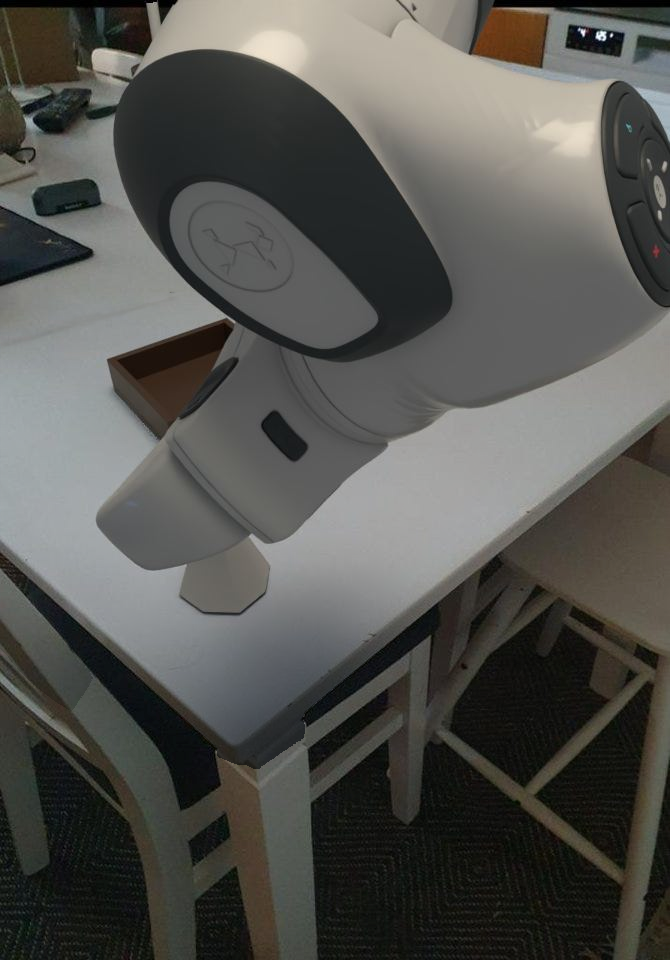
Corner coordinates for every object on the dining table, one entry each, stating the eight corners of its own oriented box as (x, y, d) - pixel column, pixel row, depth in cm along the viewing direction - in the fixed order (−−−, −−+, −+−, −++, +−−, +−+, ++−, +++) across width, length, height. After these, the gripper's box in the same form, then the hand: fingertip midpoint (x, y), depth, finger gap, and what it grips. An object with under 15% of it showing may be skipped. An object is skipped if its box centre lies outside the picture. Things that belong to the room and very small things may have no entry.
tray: (173, 455, 79) (167, 422, 76) (114, 390, 88) (106, 358, 86) (299, 403, 85) (296, 371, 83) (230, 348, 94) (226, 317, 92)
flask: (163, 601, 64) (140, 507, 58) (208, 542, 69) (191, 449, 63) (245, 626, 62) (229, 531, 56) (284, 563, 67) (275, 469, 61)
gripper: (387, 191, 41) (240, 294, 52) (153, 457, 30) (24, 522, 40) (459, 287, 43) (304, 368, 54) (267, 572, 32) (116, 605, 42)
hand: (183, 435), depth 47 cm, fingers open, 8 cm apart
